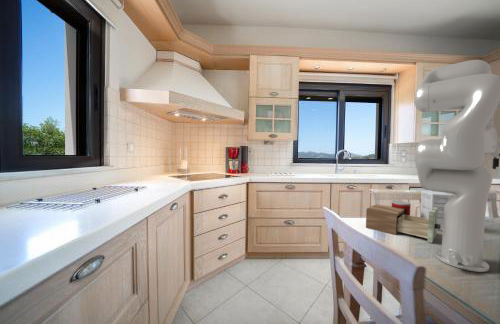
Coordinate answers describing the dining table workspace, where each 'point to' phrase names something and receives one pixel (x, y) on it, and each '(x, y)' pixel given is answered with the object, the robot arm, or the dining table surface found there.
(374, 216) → the cabinet
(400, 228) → the drawer
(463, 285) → the dining table surface
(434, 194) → the supplement box
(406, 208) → the canned food
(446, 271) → the dining table surface
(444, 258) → the robot arm
